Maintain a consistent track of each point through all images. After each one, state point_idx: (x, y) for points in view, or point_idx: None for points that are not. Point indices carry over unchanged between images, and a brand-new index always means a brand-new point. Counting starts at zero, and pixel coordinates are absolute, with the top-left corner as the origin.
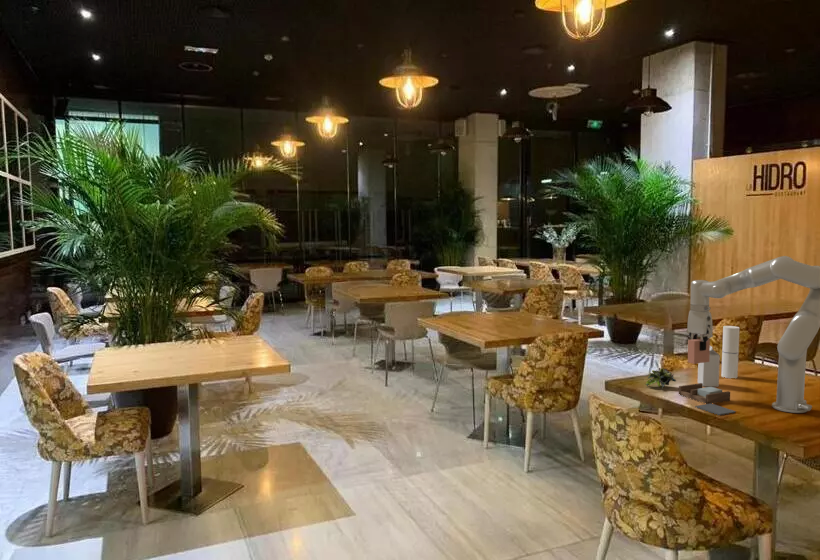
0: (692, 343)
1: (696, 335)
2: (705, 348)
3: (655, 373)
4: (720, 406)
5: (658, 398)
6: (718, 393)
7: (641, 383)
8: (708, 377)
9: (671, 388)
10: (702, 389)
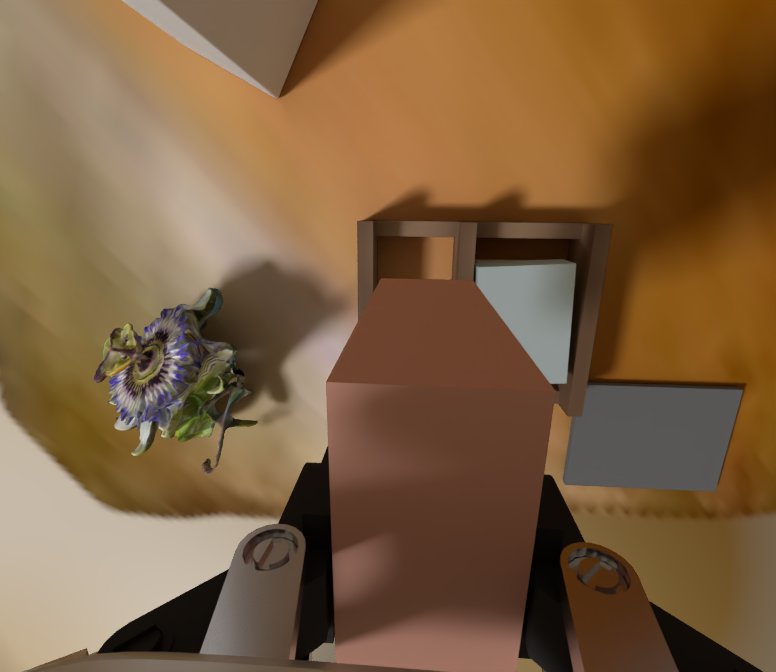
0: None
1: (281, 644)
2: (547, 478)
3: (156, 430)
4: (643, 388)
5: None
6: (593, 331)
7: (106, 387)
8: (271, 38)
9: (244, 319)
10: None
